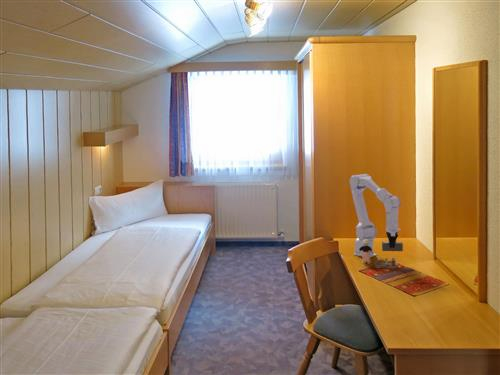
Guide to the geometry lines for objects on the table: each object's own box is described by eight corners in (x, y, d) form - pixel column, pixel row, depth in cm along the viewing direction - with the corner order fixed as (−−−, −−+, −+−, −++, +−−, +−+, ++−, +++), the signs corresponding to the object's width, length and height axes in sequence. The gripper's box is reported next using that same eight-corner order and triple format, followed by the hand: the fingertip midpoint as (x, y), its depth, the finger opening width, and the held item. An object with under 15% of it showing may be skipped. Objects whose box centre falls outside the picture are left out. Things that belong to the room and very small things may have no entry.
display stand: (375, 267, 265) (375, 260, 264) (374, 264, 271) (374, 256, 270) (398, 268, 263) (398, 260, 262) (397, 264, 269) (397, 257, 268)
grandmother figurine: (372, 261, 275) (372, 238, 273) (373, 264, 271) (373, 239, 270) (357, 261, 276) (357, 238, 274) (358, 264, 272) (358, 240, 270)
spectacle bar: (382, 251, 270) (382, 242, 269) (382, 249, 272) (382, 241, 272) (402, 251, 268) (402, 243, 267) (402, 249, 270) (402, 241, 270)
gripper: (401, 223, 260) (401, 250, 262) (399, 217, 274) (399, 243, 276) (386, 223, 261) (386, 250, 263) (385, 217, 275) (385, 242, 277)
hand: (392, 246), depth 270 cm, fingers closed on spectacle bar, 3 cm apart
